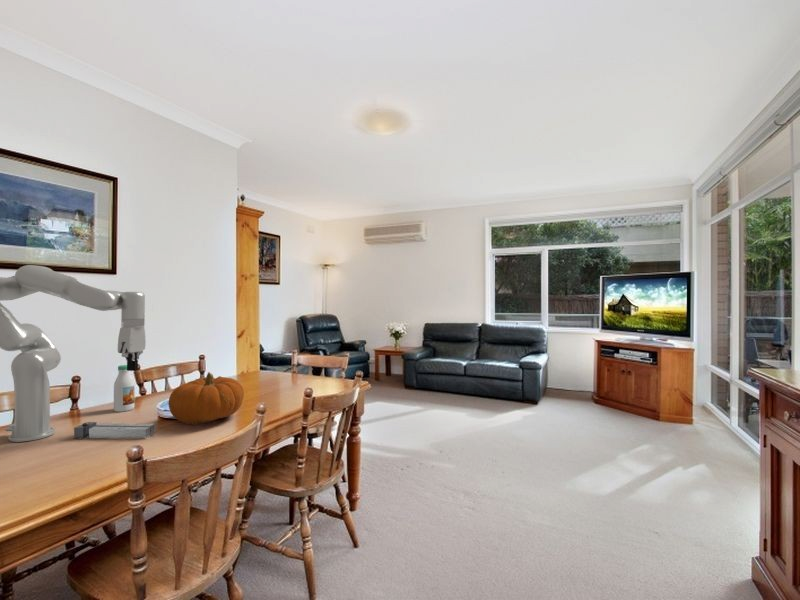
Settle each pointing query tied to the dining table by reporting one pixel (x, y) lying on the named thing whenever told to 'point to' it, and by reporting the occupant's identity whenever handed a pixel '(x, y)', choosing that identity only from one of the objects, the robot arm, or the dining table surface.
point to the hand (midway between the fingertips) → (132, 370)
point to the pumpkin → (206, 399)
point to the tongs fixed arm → (110, 431)
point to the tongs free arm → (152, 426)
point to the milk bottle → (123, 390)
